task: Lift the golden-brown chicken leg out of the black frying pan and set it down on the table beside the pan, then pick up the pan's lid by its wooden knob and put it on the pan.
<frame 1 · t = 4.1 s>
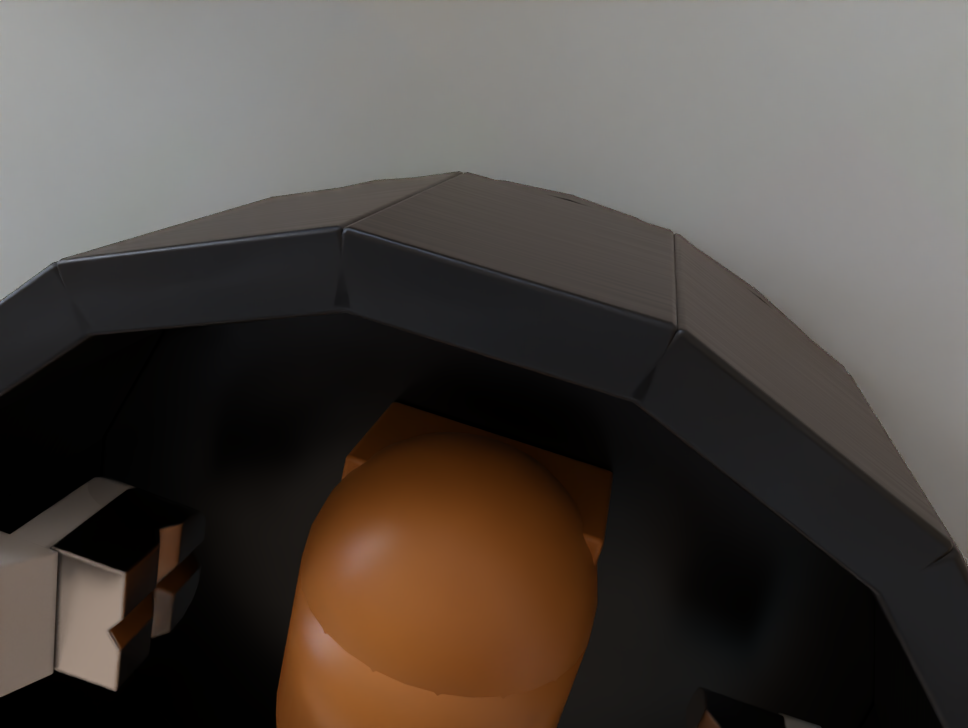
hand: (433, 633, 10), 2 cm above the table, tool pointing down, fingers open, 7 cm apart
pan: (456, 604, 13), on the table
chicken leg: (448, 624, 12), resting on pan
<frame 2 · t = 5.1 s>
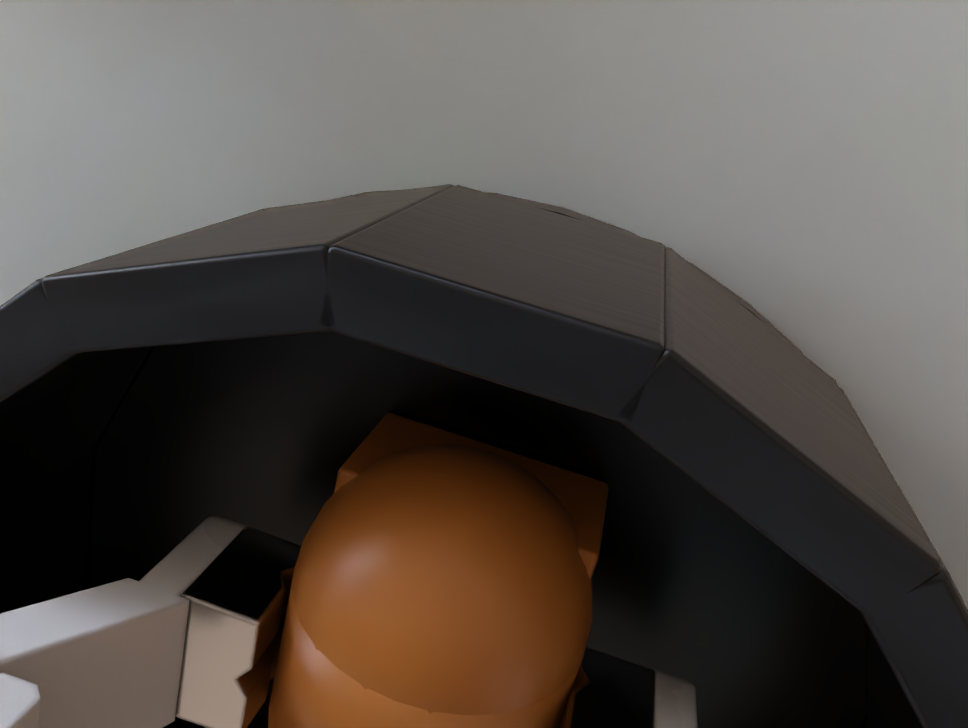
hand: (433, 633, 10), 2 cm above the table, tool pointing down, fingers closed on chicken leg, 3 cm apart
pan: (448, 616, 12), on the table
chicken leg: (443, 636, 12), point 1 cm above the table, touching gripper
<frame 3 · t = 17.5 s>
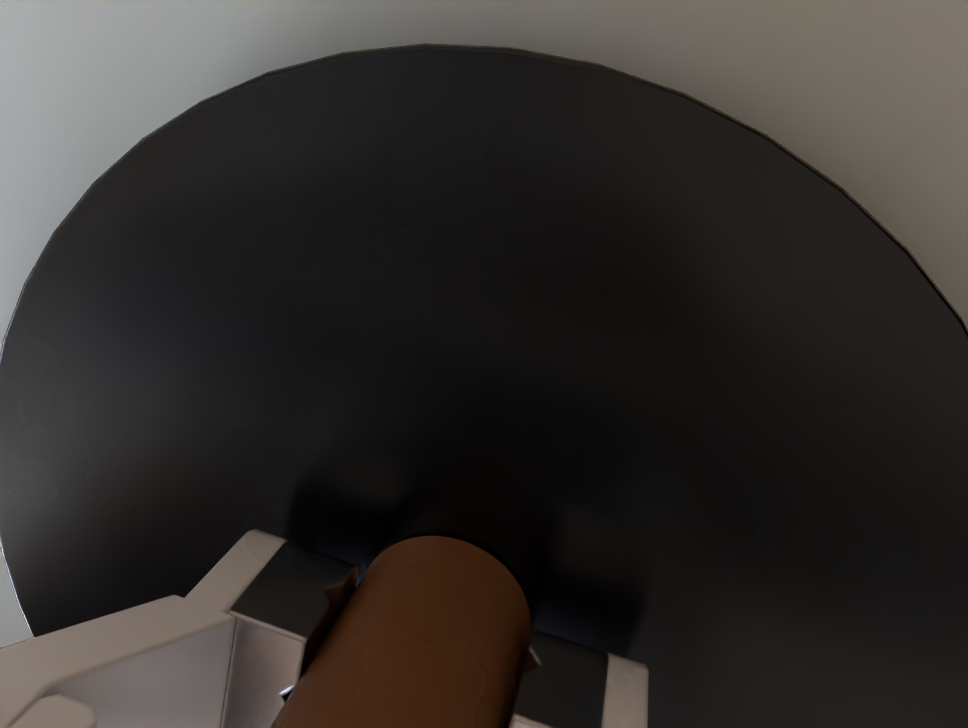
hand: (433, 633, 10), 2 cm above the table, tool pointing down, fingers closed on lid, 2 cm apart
lid: (456, 583, 11), point 1 cm above the table, touching gripper
when the fingers open (5 cm above the table, at t = 24.1 s): lid stays where it is, resting on pan.
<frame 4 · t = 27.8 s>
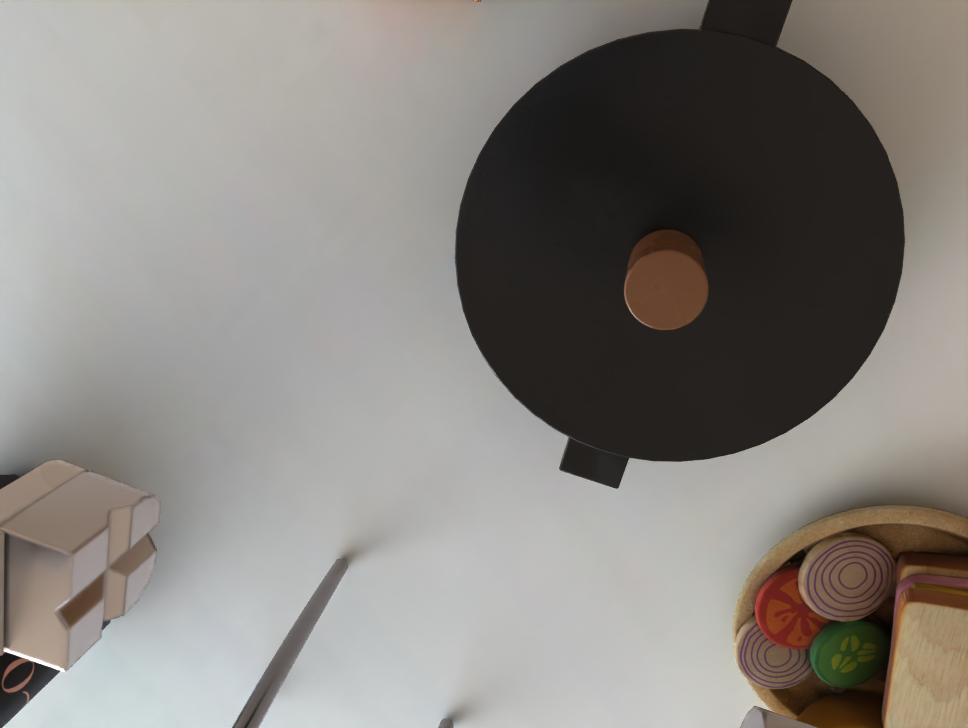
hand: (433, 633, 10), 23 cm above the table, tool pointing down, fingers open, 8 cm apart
lid: (665, 261, 26), point 4 cm above the table, touching pan
toy sandwich meal: (895, 612, 34), on the table
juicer: (329, 667, 42), on the table
pan: (665, 231, 31), on the table
coffee jar: (48, 549, 43), on the table
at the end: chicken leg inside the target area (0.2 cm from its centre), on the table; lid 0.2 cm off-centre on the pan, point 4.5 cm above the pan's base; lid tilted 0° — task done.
